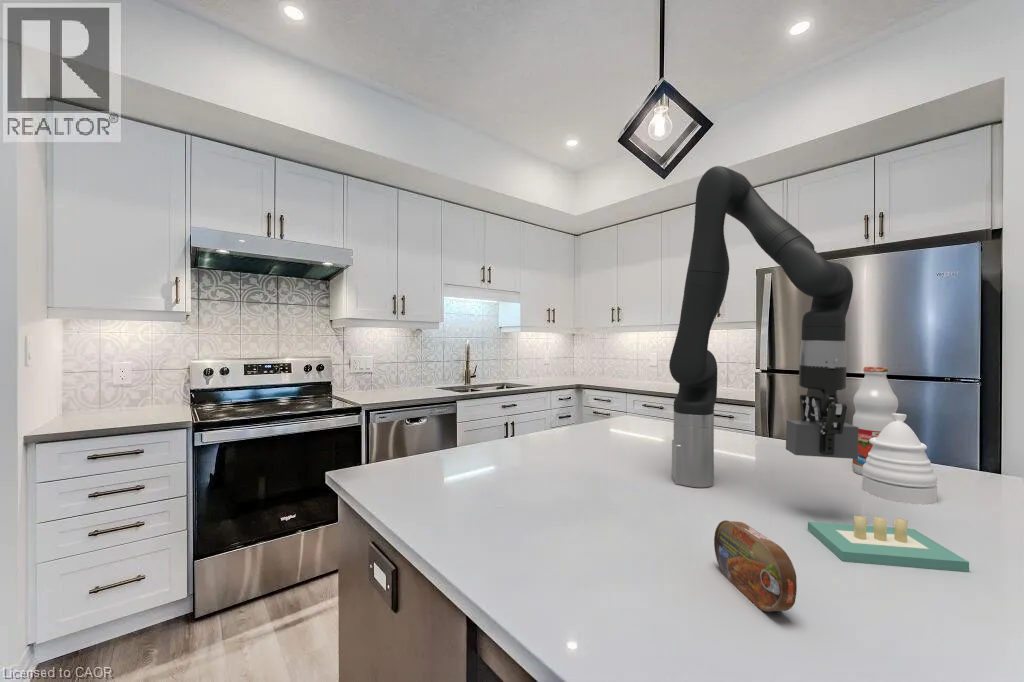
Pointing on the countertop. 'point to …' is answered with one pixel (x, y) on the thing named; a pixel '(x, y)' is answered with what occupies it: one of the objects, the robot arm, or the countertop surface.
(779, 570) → the tin
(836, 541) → the header board
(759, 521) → the countertop surface
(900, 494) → the honey pot
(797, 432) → the block
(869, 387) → the fruit juice
